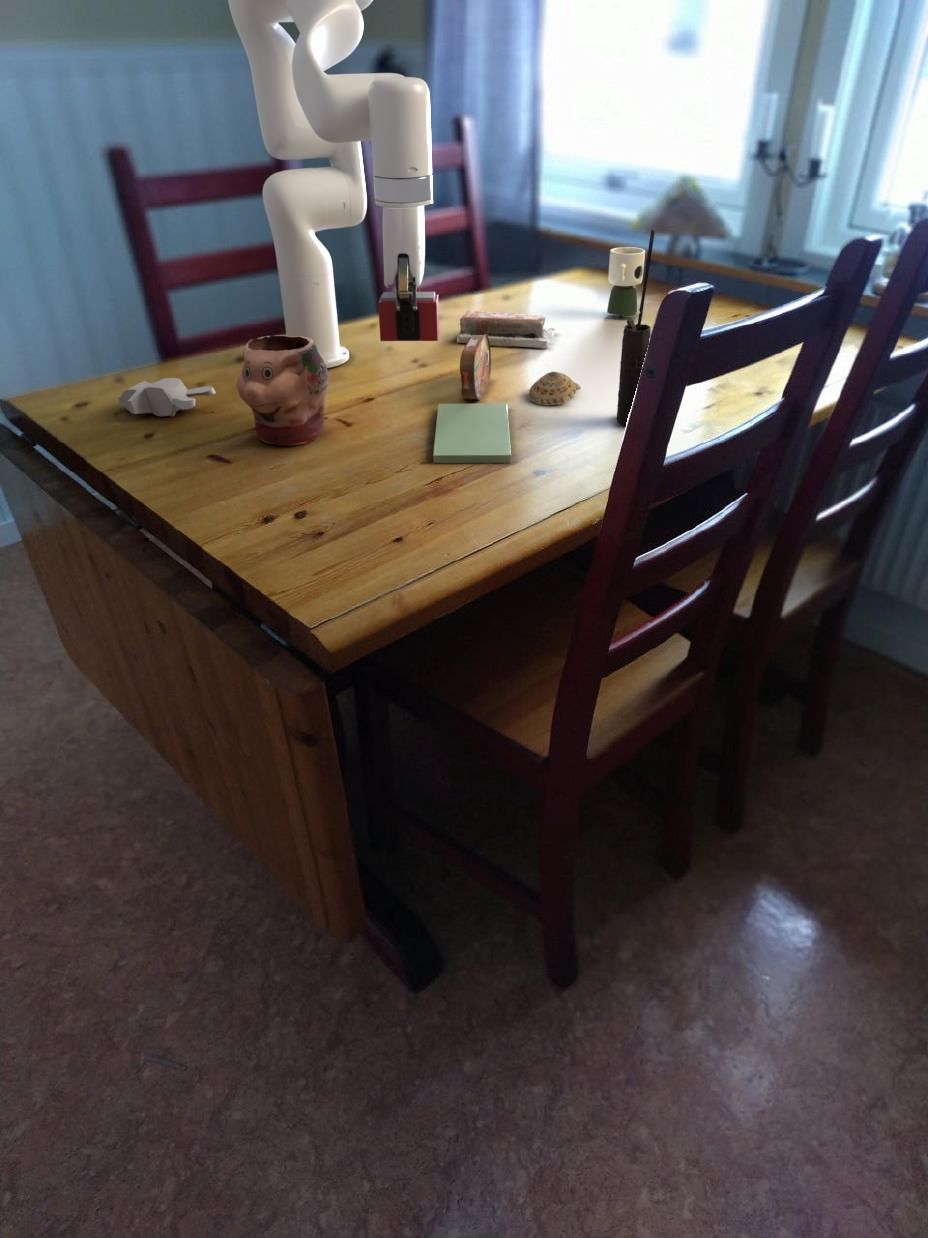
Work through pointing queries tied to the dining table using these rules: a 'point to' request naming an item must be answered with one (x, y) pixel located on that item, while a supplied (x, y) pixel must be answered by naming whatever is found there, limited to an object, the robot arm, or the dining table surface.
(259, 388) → the decorative planter
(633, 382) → the butter churn
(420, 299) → the red rectangular block
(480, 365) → the tin
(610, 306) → the character mug
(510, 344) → the packaged product
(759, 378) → the dining table surface
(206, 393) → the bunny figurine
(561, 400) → the seashell
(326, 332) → the robot arm
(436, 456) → the board
